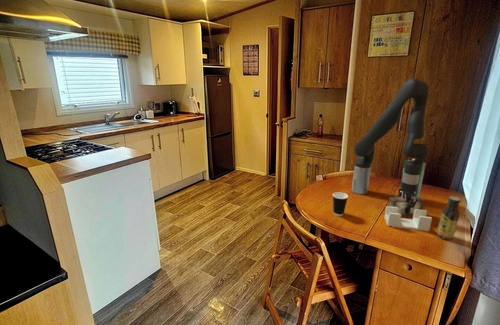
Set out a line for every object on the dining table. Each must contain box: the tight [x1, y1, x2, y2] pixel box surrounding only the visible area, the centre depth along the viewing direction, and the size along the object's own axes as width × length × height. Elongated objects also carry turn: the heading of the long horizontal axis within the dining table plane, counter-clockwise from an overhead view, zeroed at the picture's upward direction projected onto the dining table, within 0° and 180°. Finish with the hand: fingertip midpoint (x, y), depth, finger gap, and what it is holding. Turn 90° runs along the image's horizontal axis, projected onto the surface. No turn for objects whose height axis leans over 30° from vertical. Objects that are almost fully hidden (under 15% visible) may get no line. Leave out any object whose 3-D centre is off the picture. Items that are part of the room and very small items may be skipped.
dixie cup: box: [332, 191, 349, 217], centre depth 144 cm, size 8×8×11 cm
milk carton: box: [399, 158, 427, 197], centre depth 158 cm, size 9×9×25 cm
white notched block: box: [384, 205, 433, 232], centre depth 134 cm, size 18×9×7 cm, turn 74°
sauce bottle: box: [436, 196, 461, 241], centre depth 121 cm, size 6×6×20 cm
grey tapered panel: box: [387, 196, 425, 217], centre depth 143 cm, size 16×4×9 cm, turn 89°
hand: (404, 210), depth 144 cm, fingers closed on grey tapered panel, 4 cm apart
